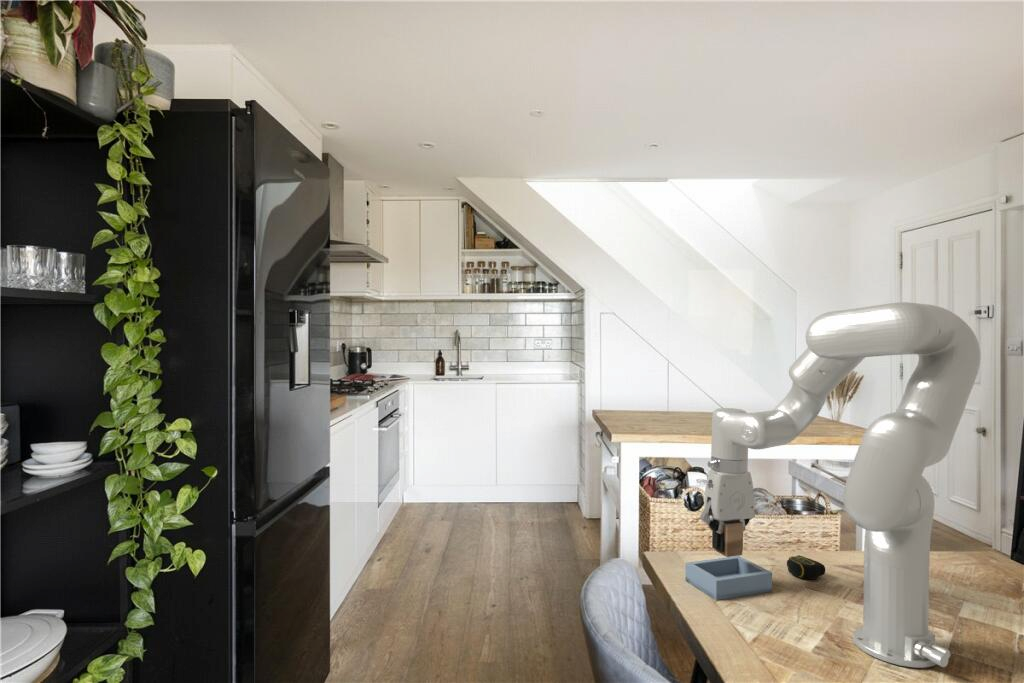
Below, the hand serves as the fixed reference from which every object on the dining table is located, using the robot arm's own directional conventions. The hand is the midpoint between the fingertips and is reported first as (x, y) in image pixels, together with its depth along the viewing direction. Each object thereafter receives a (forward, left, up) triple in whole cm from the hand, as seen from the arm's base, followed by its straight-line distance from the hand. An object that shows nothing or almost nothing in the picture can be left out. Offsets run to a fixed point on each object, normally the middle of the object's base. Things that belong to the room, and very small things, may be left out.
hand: (727, 548), depth 129 cm
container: (0, 0, -8) cm, 8 cm away
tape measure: (0, -21, -9) cm, 23 cm away
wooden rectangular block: (0, 0, -1) cm, 1 cm away
